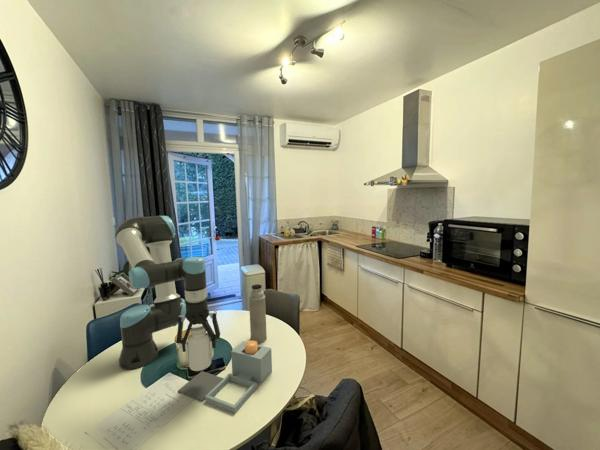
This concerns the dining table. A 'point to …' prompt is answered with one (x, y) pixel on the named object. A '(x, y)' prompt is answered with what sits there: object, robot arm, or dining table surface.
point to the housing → (243, 374)
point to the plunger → (251, 347)
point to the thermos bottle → (257, 314)
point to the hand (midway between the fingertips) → (200, 357)
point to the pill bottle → (199, 348)
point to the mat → (200, 385)
